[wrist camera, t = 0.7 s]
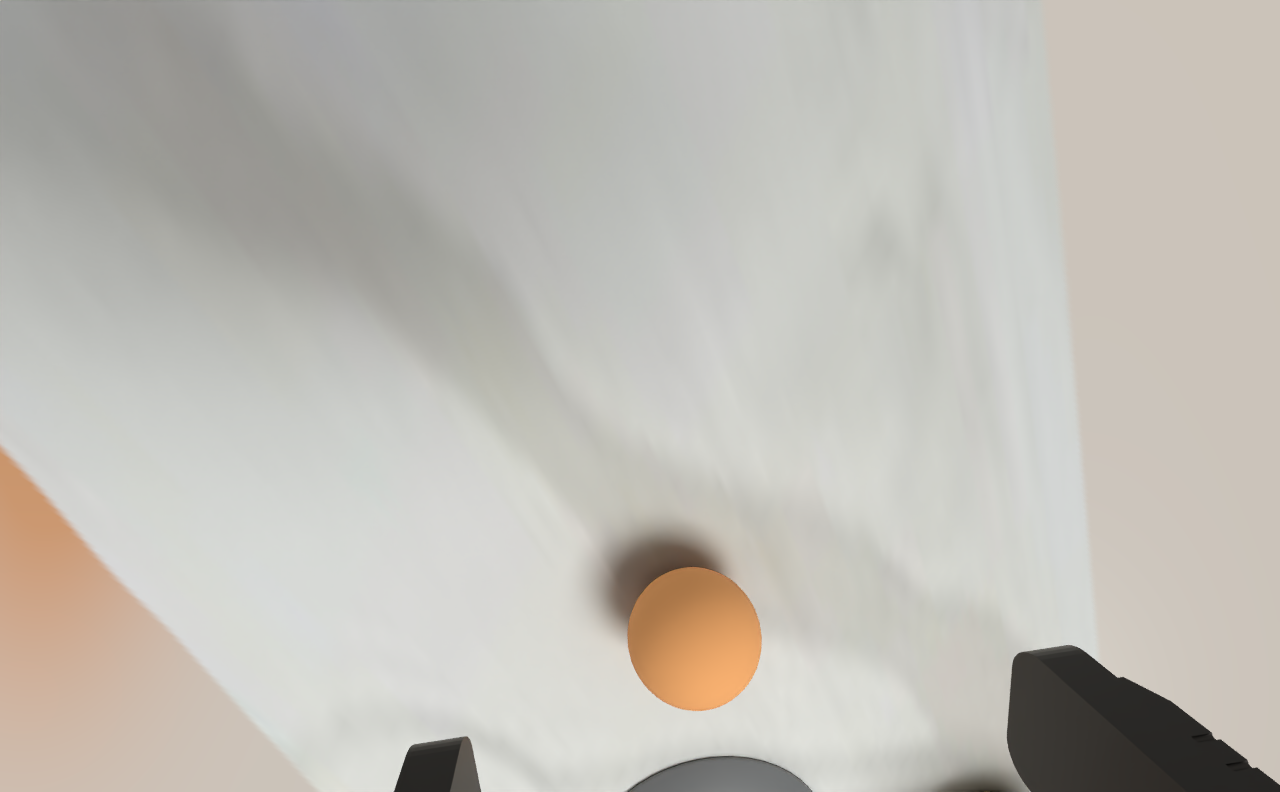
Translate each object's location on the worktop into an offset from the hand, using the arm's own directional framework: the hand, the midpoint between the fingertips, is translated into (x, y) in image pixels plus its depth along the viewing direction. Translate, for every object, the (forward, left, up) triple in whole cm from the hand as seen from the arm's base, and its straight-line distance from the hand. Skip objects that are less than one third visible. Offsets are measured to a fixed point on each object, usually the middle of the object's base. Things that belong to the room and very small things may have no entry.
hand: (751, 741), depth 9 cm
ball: (+9, +1, -14) cm, 17 cm away
